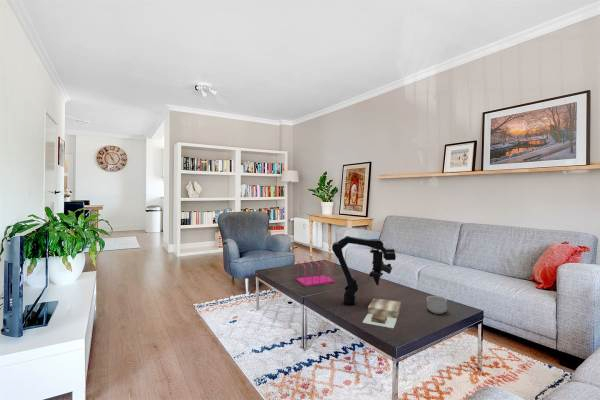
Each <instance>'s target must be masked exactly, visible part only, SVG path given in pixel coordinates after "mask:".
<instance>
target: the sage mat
mask: <svg viewBox="0 0 600 400" xmlns="http://www.w3.org/2000/svg"><path fill="white" fill-rule="evenodd" d="M372 316H373V314H368V313H367V314H366V316H365V318H364V319H363V321H362V324H367V325H372V326H377V327H384V328H388V329H394V328H395V326H396V323H397V320H398V318H392V317H387V320H386V322H385V324H382V323H377V322H372V321H371V317H372Z"/></svg>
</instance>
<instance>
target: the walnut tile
mask: <svg viewBox="0 0 600 400" xmlns="http://www.w3.org/2000/svg"><path fill="white" fill-rule="evenodd" d="M386 320H387V315H381V314H375V313H374V314H373V316H372V317H371V321H372V322H377V323H382V324H385V322H386Z"/></svg>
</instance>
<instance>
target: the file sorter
mask: <svg viewBox="0 0 600 400" xmlns="http://www.w3.org/2000/svg"><path fill="white" fill-rule="evenodd" d="M326 261H327V262H329V263H331V264H332V277H329V276H328V265H327V263H326ZM310 262H311V263H310ZM310 262H308V261H306V260H304V261H303V263H301V262H300V261H297V262H296V263H297V266H296V267H297V271H296V272H297V275H296V276H297V278H296V279H295V280H296V281H297V282H298V283H299V284H300V285H302V286H303V287H312V286H320V285H328V284H335V282H336V281H335V280H334V279H335V278H334V277H335V273H334V272H335V267H334V265H335V264H334V263H333V262H332V261H330V260H329V259H327V258H326V259H324V260H320V259H318V260H317V262H316V261H315V260H313V259H312V260H311V261H310ZM313 262H314V264H317V266H318V275H314V274H313ZM319 262H320V263H323V274H322V275H321V265H320V264H319ZM306 263H307V264H308V265H310V276H306V275H307V273H306V271H307V270H306V266H305V264H306ZM299 265H301V266H302V267H303V277H299ZM313 275H314V276H313Z"/></svg>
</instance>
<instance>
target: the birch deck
mask: <svg viewBox="0 0 600 400" xmlns="http://www.w3.org/2000/svg"><path fill="white" fill-rule="evenodd" d="M401 310H402V302H401V301H397V300H391V299H384V298H383V299H382V298H375V297H373V298H372V300H371V301H370V303H369V305H368V306H367V314H374V313H375V314H381V315H387V317H392V318H397V319H398V318H399V315H400V312H401Z"/></svg>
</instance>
